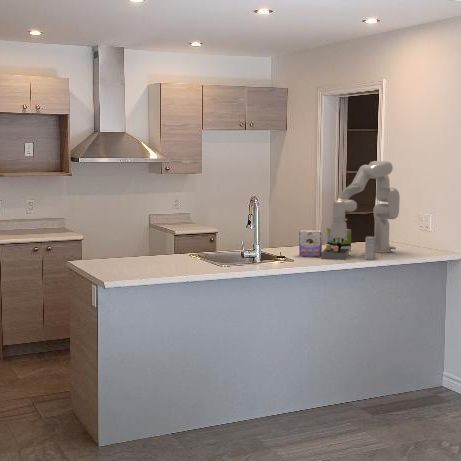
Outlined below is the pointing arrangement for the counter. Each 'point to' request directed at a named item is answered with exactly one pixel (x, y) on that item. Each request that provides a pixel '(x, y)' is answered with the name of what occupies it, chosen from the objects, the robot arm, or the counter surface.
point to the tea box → (344, 245)
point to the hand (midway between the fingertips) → (338, 249)
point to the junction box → (369, 248)
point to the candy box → (310, 243)
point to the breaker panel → (335, 254)
